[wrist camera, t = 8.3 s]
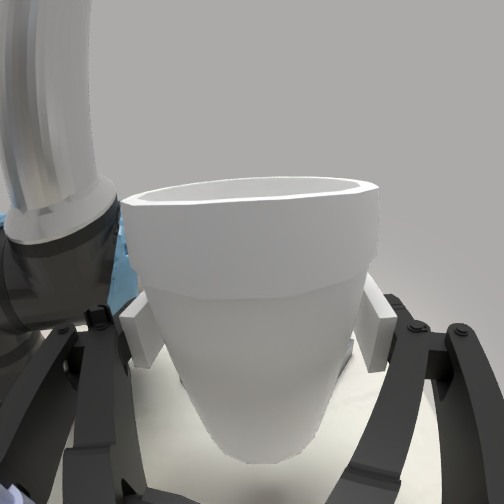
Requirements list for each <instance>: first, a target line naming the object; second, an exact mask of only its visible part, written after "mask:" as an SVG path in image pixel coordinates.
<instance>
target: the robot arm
mask: <svg viewBox="0 0 504 504" xmlns="http://www.w3.org/2000/svg"><path fill="white" fill-rule="evenodd" d="M91 2H92V0H0V162H1V167H2V171H3V175H4V179H5V183H6V187H7V190H8V194H9V198H10V201H11V206H10V208H9V210H8V213H7V214H6V213H2V214H0V504H47V501H48V499H49V496H50V493H51V490H52V487H53V483H54V479H55V476H56V472H57V469H58V466H59V462H60V459H61V456H62V453H63V450H64V447H65V444H66V441H67V438H68V435H69V432H70V429H71V426H72V424H73V421H74V418H75V429H74V445H73V448H66V449H65V450H64V454H63V504H200V503H198V502H195V501H193V500H190V499H188V498H186V497H183V496H181V495H177V494H173V493H168V492H164V491H160V490H156V489H152V488H149V487H147V483H146V479H145V474H144V470H143V465H142V459H141V454H140V448H139V442H138V436H137V429H136V422H135V415H134V406H133V397H132V387H131V375H130V368H129V365H128V361H129V360H130V358H131V357H132V360H133V363H134V366H135V367H140V368H147V369H149V368H150V367H151V365H152V363H153V362H154V360H155V358H156V357H157V355H158V353H159V352H160V350H161V348H162V347H163V345H164V340H163V338H162V335H161V333H160V330H159V328H158V325H157V323H156V320H155V318H154V315H153V313H152V310H151V307H150V305H149V302H148V299H147V297H146V294H145V291H143V292H142V293H141V294H140V295H139V291H138V277H137V274H136V273H135V271H134V270H133V269H132V268H131V266H130V261H129V256H128V250H127V244H126V238H125V232H124V226H123V219H122V212H121V204H120V201H122V200H120V201H118V200H117V194H116V188H115V186H114V184H113V182H112V181H111V180H109V179H107V178H106V177H104V176H103V175H101V174H99V173H98V172H97V170H96V165H95V158H94V149H93V141H92V132H91V120H90V106H89V84H88V47H89V25H90V13H91ZM81 325H87V326H88V331H84V332H77V330H76V328H75V326H81ZM48 329H53V330H52V331H51V333H50V334H49V335H48V337H47V338H46V339H45V338H44V337H43V335H42V334H41V332H40V330H48ZM353 330H354V333H355V335H356V338H357V341H358V344H359V347H360V350H361V352H362V355H363V358H364V361H365V364H366V367H367V370H368V373H373V372H382V371H385V369H386V365H387V361H388V362H389V368H388V371H387V374H386V377H385V379H384V382H383V385H382V388H381V391H380V393H379V396H378V399H377V401H376V404H375V406H374V409H373V411H372V414H371V416H370V419H369V421H368V423H367V426H366V428H365V430H364V433H363V435H362V437H361V439H360V441H359V444H358V446H357V448H356V450H355V452H354V454H353V456H352V458H351V460H350V462H349V464H348V466H347V467H346V468H345V470H344V472H343V473H342V475H341V477H340V479H339V481H338V482H337V484H336V486H335V488H334V489H333V491H332V493H331V494H330V496H329V498H328V499H327V501H326V503H325V504H394V502H395V500H396V497H397V495H398V492H399V489H400V486H401V480H400V475H401V472H402V469H403V466H404V463H405V460H406V456H407V453H408V450H409V446H410V443H411V439H412V436H413V432H414V428H415V424H416V420H417V416H418V411H419V406H420V402H421V397H422V391H423V385H424V380H425V379H431V383H432V388H433V394H434V401H435V407H436V414H437V422H438V431H439V441H440V453H441V472H442V504H504V399H503V396H502V394H501V391H500V388H499V386H498V383H497V381H496V378H495V376H494V373H493V371H492V368H491V366H490V364H489V361H488V359H487V357H486V355H485V353H484V351H483V348H482V346H481V344H480V342H479V340H478V338H477V336H476V334H475V332H474V330H472V328H471V327H469V326H468V325H466V324H463V323H455V324H451V325H449V327H448V329H447V332H446V333H435V332H431V330H430V327H429V326H428V325H427V324H426V323H424V322H422V321H418V320H414V319H413V317H412V316H411V314H410V313H409V312H408V310H407V309H406V307H405V306H404V305H403V304H402V302H401V301H400V299H399V298H397V297H396V296H394V295H392V294H385V295H383V294H382V292H381V291H380V289H379V288H378V286H377V285H376V283H375V282H374V280H373V279H372V277H371V276H370V275H369V273H368V272H367V276H366V281H365V285H364V289H363V293H362V297H361V301H360V305H359V309H358V313H357V316H356V320H355V324H354V327H353Z"/></svg>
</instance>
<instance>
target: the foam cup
mask: <svg viewBox="0 0 504 504" xmlns="http://www.w3.org/2000/svg"><path fill="white" fill-rule="evenodd" d="M120 204H121V212H122V219H123V226H124V232H125V238H126V244H127V250H128V256H129V261H130V266H131V268H132V269H133V270H134V271H135V273H136V274H137V275H138V276H139V277H140V280H141V282H142V285H143V288H144V291H145V294H146V297H147V299H148V302H149V305H150V307H151V310H152V313H153V315H154V318H155V320H156V323H157V325H158V328H159V330H160V333H161V335H162V338H163V340H164V343H165V345H166V347H167V350H168V352H169V354H170V357H171V359H172V361H173V363H174V366H175V368H176V370H177V372H178V374H179V376H180V379H181V381H182V383H183V385H184V387H185V389H186V391H187V393H188V395H189V397H190V399H191V401H192V403H193V405H194V407H195V409H196V411H197V413H198V415H199V417H200V419H201V421H202V422H203V424H204V426H205V428H206V430H207V432H208V433H209V434H210V436H211V438H212V439H213V441H214V442H215V443H216V444H217V445H218V447H219V448H220V449H221V450H222V451H223V453H224V454H226V455H228V456H230V457H233V458H235V459H238V460H240V461H242V462H245V463H247V464H276V463H278V462H281V461H283V460H286V459H288V458H290V457H293V456H295V455H297V454H300V453H301V452H302V450H303V449H304V448H305V447H306V446H307V445H308V444H309V443H310V441H311V440H312V439H313V438H314V437H315V433H316V432H317V430H318V428H319V426H320V423H321V421H322V418H323V416H324V413H325V411H326V408H327V405H328V403H329V400H330V397H331V395H332V392H333V389H334V386H335V384H336V381H337V378H338V375H339V372H340V369H341V366H342V363H343V360H344V357H345V354H346V351H347V347H348V344H349V341H350V337H351V334H352V331H353V327H354V324H355V320H356V316H357V313H358V309H359V305H360V301H361V297H362V293H363V289H364V285H365V281H366V276H367V272H368V267H369V264H370V263H371V262H372V260H374V259H375V258H376V255H377V241H378V222H379V187H378V186H376V185H374V184H373V183H371V182H365V181H358V180H351V179H342V178H325V177H259V178H241V179H228V180H218V181H208V182H200V183H192V184H185V185H180V186H173V187H167V188H161V189H157V190H152V191H148V192H144V193H140V194H136V195H133V196H131V197H128V198H126V199H124V200H122V201H120Z"/></svg>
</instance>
